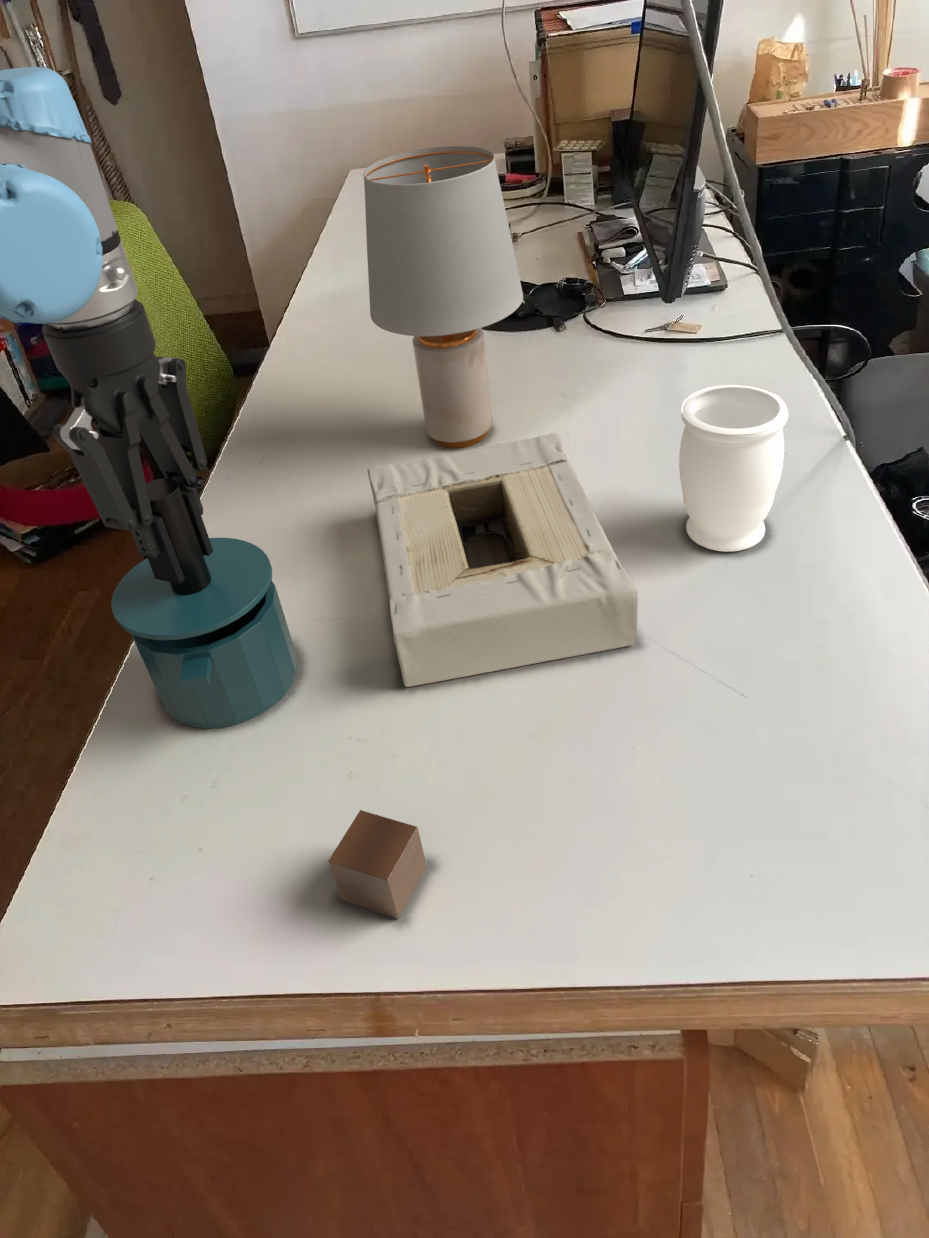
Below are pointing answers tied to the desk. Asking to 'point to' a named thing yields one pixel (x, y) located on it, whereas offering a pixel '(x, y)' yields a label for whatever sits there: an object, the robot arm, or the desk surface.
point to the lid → (190, 579)
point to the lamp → (442, 276)
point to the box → (496, 562)
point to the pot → (225, 668)
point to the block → (378, 863)
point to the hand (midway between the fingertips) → (184, 564)
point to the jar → (730, 463)
